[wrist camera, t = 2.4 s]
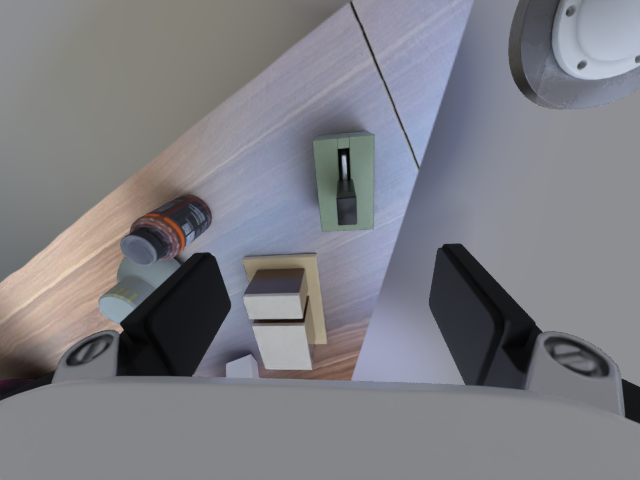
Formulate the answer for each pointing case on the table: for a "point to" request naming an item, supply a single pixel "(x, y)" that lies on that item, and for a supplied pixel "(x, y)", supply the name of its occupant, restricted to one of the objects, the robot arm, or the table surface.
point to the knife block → (358, 169)
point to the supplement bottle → (166, 230)
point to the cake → (285, 309)
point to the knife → (346, 198)
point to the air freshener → (134, 286)
